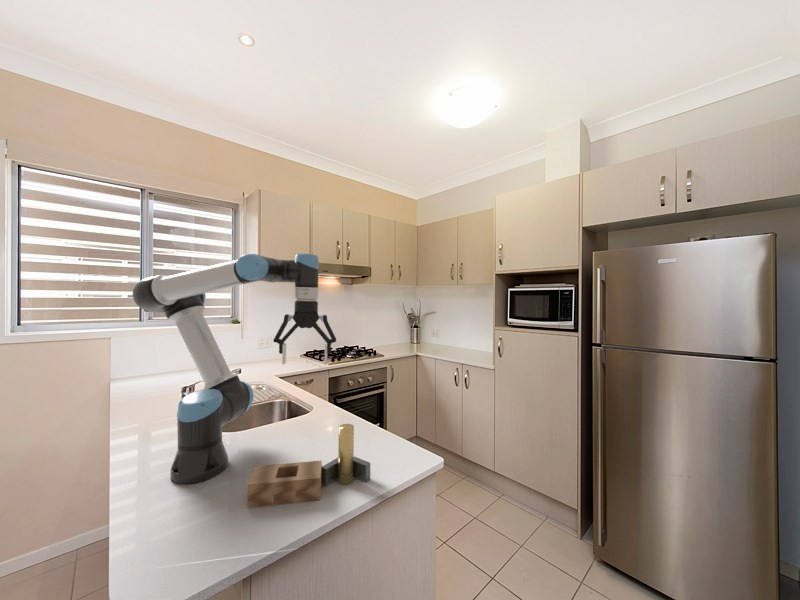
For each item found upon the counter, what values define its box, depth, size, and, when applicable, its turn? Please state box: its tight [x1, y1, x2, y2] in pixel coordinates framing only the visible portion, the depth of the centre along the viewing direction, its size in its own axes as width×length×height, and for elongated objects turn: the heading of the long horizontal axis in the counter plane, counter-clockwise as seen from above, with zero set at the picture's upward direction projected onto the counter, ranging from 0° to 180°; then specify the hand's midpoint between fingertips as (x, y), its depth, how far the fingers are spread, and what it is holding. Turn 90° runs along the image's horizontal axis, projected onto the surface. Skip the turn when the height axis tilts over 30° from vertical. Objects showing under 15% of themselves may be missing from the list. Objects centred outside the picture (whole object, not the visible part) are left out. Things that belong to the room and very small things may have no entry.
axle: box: [337, 423, 355, 486], centre depth 94 cm, size 4×4×16 cm
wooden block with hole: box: [246, 460, 323, 509], centre depth 88 cm, size 18×9×6 cm, turn 101°
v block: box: [321, 456, 371, 487], centre depth 96 cm, size 14×7×5 cm, turn 101°
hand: (305, 363), depth 108 cm, fingers open, 13 cm apart
